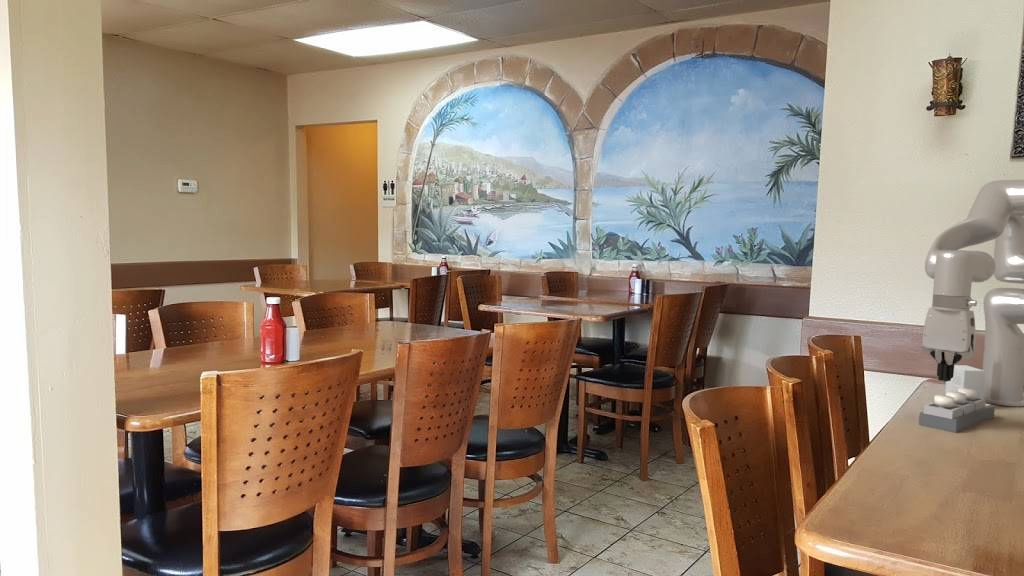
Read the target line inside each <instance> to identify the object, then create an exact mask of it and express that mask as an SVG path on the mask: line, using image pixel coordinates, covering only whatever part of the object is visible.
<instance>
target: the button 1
mask: <svg viewBox="0 0 1024 576" xmlns="http://www.w3.org/2000/svg"><path fill="white" fill-rule="evenodd" d="M933 399H934V401H933V402H934V405H936V406H941V407H954V398H953V397H950V396H945V394H935V395H934V398H933Z"/></svg>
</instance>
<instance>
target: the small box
mask: <svg viewBox="0 0 1024 576" xmlns="http://www.w3.org/2000/svg"><path fill="white" fill-rule="evenodd" d="M984 382H985V371H984V370H983V369H981V368H977V367H973V366H970V365H966V364H965V365H963V364H962V365H961V364H954V374H953V378H951V381H945V389H944V390H945V392H944V393H945V394H944V395H945V396H946V393H947V392H949V391H952V392H958V388H968V389H974V390H977V398H981V399H983V398H984Z"/></svg>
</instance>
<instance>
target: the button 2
mask: <svg viewBox="0 0 1024 576" xmlns="http://www.w3.org/2000/svg"><path fill="white" fill-rule="evenodd" d="M958 392H961V393H964V394H966V399H970V400H975V399H976V398H977V390H974V389H968V388H958Z"/></svg>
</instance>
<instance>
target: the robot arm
mask: <svg viewBox="0 0 1024 576" xmlns="http://www.w3.org/2000/svg"><path fill="white" fill-rule="evenodd" d="M968 212H969V213H968V214H967V216H966V218H965V219H964V220H961V221H959V222H957V223H955V224H954V225H952V226H950V227H948V228H947V229H945V230H944V231H942V232H941V233H940V234H938V235H937V237H936V238H935V239H934V241H933V242H932V244H931V246H930V248H929V251H928V252H927V254H926V259H925V261H924V270H925V271H924V272H925V274H926V275H927V276H928V277H929V278H930V279H933V287H932V288H933V290H932V291H933V292H932V301H931V302H932V304H931V307H929V308H928V310H927V313H926V317H925V320H924V324H923V325H924V326H923V331H922V332H923V333H922V338H921V339H922V340H921V342H922V344H921V345H922V348H921V352H922V353H924V354H926V355H929V356H931V357H932V358H933V359H934V361H935V363H937V367H936V368H937V369H936V377H938V379H937V380H938V381H939V382H940V381H943V382H946V381H951V378H953V374H954V365H957V363H958V362H960V361H961V360H968V359H969V360H970V359H973V357H974V353H973V352H974V351H975V348H976V339H977V338H976V334H977V333H976V318H975V312H974V310H970V309H971V308H972V307H977V304H978V302H977V300H974V299H972V296H971V294H972V283H983V282H984V283H985V282H986V281H988V280H990V279H991V278H992V277H993V276H994V278H995V279H996V280H997V281H998V282H999V281H1000V282H1003V283H1007V284H1009V283H1010V284H1019V285H1020V284H1021V285H1022V284H1023V285H1024V179H1003V180H994V181H990V182H987V183H985V184H984V185H983V186H982V187H980V189H979V192H978V193H977V195H976V197H975V199H974V202H973V204H972V205H971V208H970V210H969V211H968ZM993 240H994V249H993V251H994V252H993V256H992V255H991V254H990V253H988V252H985V251H980V250H979V251H978V250H961V249H964V248H968V247H972V246H977V245H979V244H984V243H987V242H990V241H993ZM982 303H983V312H984V323H985V324H984V327H985V328H984V346H983V347H984V348H983V358H982V360H983V361H982V370H984V371H985V382H984V398H983V399H986V401H985V404H991V405H999V406H1007V407H1024V397H1023V395H1024V394H1023V392H1024V391H1023V390H1024V332H1023V330H1022V329H1021V328H1020V327H1019V326H1018V325H1024V288H1021V287H1019V288H1018V287H997V288H992V289H989V291H987V293H985V295H984V297H983V302H982ZM946 352H948V355H947V358H946Z"/></svg>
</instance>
